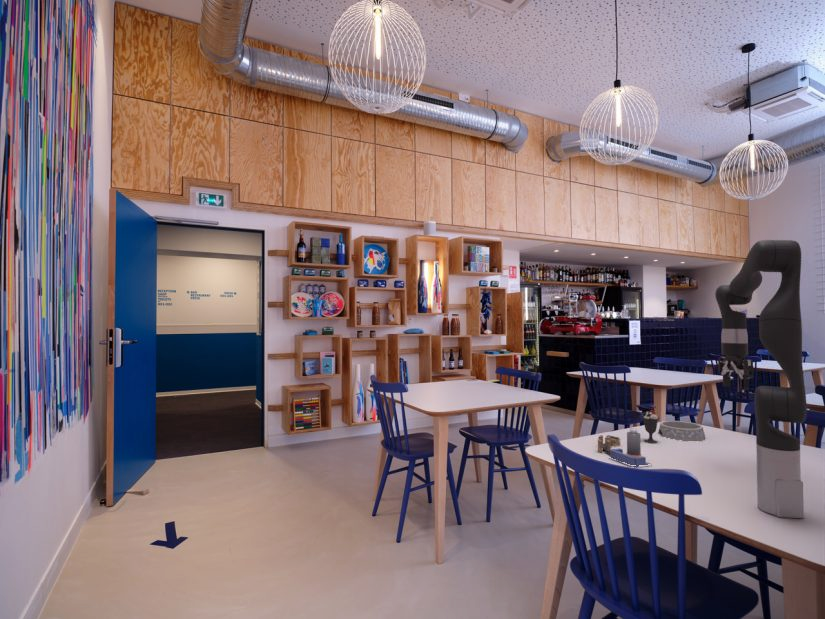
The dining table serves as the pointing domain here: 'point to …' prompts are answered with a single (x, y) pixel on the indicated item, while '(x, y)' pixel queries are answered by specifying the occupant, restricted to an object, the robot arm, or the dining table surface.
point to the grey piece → (633, 443)
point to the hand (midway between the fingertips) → (735, 388)
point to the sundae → (650, 424)
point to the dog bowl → (682, 431)
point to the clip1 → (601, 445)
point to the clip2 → (606, 439)
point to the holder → (627, 458)
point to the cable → (606, 449)
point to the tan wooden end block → (614, 440)
